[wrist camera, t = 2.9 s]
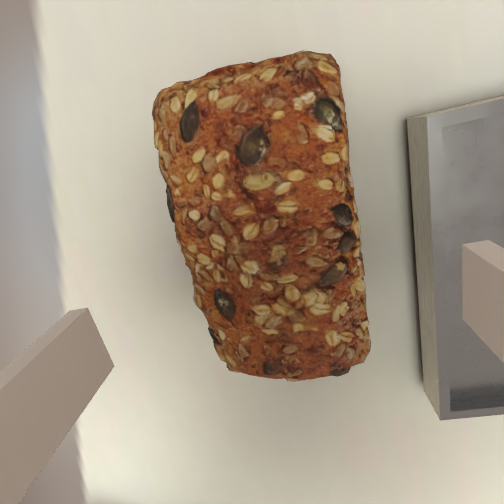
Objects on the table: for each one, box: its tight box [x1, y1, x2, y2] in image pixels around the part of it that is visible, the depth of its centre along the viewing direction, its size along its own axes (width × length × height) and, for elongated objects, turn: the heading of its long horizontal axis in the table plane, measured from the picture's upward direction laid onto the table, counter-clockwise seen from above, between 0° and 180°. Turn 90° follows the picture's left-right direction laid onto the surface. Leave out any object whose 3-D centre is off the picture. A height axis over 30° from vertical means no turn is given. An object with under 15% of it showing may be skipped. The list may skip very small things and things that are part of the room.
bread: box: [152, 51, 371, 381], centre depth 22 cm, size 19×11×10 cm, turn 11°
